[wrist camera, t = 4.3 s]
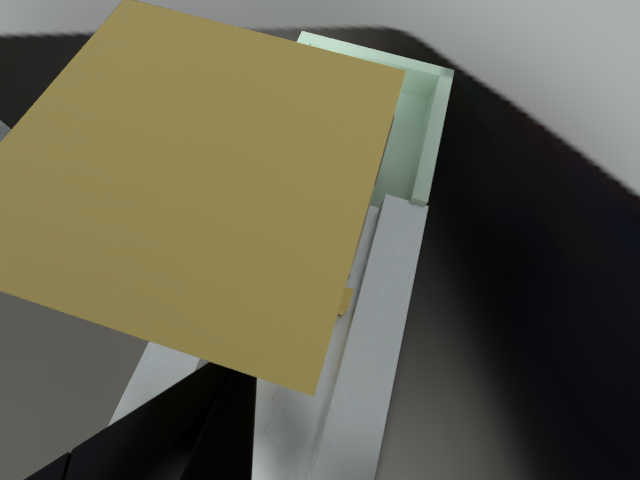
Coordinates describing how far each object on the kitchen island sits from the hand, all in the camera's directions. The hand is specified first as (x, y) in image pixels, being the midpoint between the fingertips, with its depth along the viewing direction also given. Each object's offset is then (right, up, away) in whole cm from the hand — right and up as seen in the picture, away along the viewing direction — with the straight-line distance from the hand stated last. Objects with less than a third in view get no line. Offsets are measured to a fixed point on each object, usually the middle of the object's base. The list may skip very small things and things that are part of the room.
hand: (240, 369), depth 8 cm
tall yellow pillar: (0, -1, +7) cm, 7 cm away
